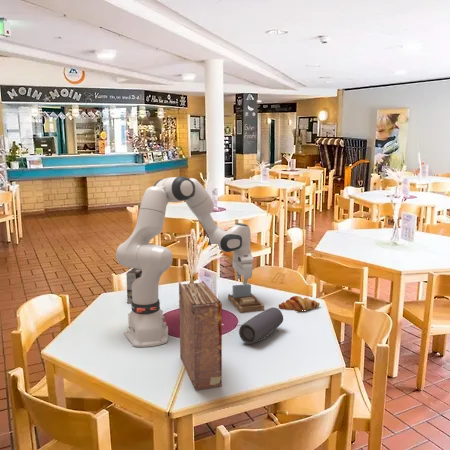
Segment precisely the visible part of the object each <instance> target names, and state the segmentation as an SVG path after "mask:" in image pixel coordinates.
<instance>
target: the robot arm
mask: <svg viewBox="0 0 450 450" xmlns="http://www.w3.org/2000/svg"><path fill="white" fill-rule="evenodd" d="M178 202H185V203H186V205H187V207H188V208H189V210H190V211H191V212H192V214H194V216H195V217H196V219H198V222H199V223H200V225H201V227H202V228H203V230H204V231H205V233H206V238H207V237H208V238H209V242H208V244H209V245H210V246H211V244H218V246H219V249H218V250H221V251H222V252H225V253H231V252H232V268H233V269H234V270H235V274H236V279H237V280H241V278H242V279H243V280H242V285H247V284H248V280H249V279H251V278H252V277H253V265H254V264H253V263H254V257H253V254H252V253H251V251H252V250H251V249H252V248H251V242H252V241H251V240H252V239H251V237H252V235H251V228H250V226H249V225H248V224H246V223H241V222H237V223H234V224H233V225H232V226H231V227H230V228H229V229H227V230H225V229H223V228H220V227H219V226H218V225H217V223H216V222H215V220H214V219H213V217H212V215H211V214H212V212H213V211H214V208H215V204H214V201H213V199H212V197H211V195H210V194H209V192H208V191H207V190H206V188H205V186H203V184H201V182H199V180H197V179H196V178H193V177H190V178H189V177H186V176H170V177H165V178H161V179H158V180H157V181H156V182H155V183H154V184H153V186H148V187H147V188H146V189H145V190H144V194H143V196H142V198H141V202H140V204H139V205H140V206H139V210H138V214H137V215H138V216H137V220H136V224H135V227H134V228H133V231H132V233H130V236H129V237H128V238H127V239H126V240H125V241H124V242H122V243H121V244H119V245H118V247H117V248H116V251H115V258H116V259H115V260H116V261H117V263H118V265H121V266H123V267H126V268H131V269H133V268H135V269H141V270H142V275H141V277H139V278H137V279H136V280H135V281H134V282H133V284H132V301H131V303H130V307H131V308H130V309H131V311H130V312H129V313H128V315H127V317H128V318H127V321H128V324H127V325H128V326H127V328H128V329H126V330H124V333H123V334H124V336H126V338H127V340H129V343H131V345H132V346H133V347H134V348H146V347H147V348H148V347H156V346H160V345H164V344H166V343H167V344H168V337H169V336H168V335H169V327H168V325H167V322H166V321H164V320H166V319H165V316H164V314H163V313H164V311H163V310H162V309H161V302H160V298H159V285H160V280H161V277H162V275H163V274H164V273H165V272H166V271H168V269H170V267H171V266H172V264H173V259H174V257H173V252H172V251H171V249H170V248H168V247H166V246H162V245H160V244H154V243H153V244H152V243H150V242H151V240H152V239H153V238H155V237H157V236H158V235H160V234H161V233H162V231H163V229H164V228H163V227H164V224H165V218H166V211H167V207H168V204H169V203H178Z"/></svg>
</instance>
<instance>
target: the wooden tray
mask: <svg viewBox="0 0 450 450" xmlns="http://www.w3.org/2000/svg"><path fill="white" fill-rule="evenodd" d="M247 297H252V298H253V299H255V303H247V304H239V302H240V298H247ZM227 299H228V301H229V302H230V303H231V304H232V306H234V308H236V310H237V311H238V312H239V313H240V314H244V313H252V312H253V313H254V312H255V313H256V312H263V311H265V305H264V303H262V302H261V300H259V298H257V297H256V296H255V295H254V294H253V293H252V292H251V296H246V297H236V298H233V294H230V293H229V294H227Z"/></svg>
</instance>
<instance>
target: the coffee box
mask: <svg viewBox="0 0 450 450" xmlns="http://www.w3.org/2000/svg"><path fill="white" fill-rule="evenodd" d="M125 275H126V297H127V299H126V300H127V304H131V301H132V284H133V282H134V281H135V280H136V279H137V278H139V277H141V275H142V270H141V269H135V268H131V269H130V270H129V271H127V272H126V273H125Z"/></svg>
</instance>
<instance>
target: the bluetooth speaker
mask: <svg viewBox="0 0 450 450" xmlns="http://www.w3.org/2000/svg"><path fill="white" fill-rule="evenodd" d="M283 322H284V315H283V312H282V311H281V310H280V308H277V307H275V306H274V307H270V308H268V309H264V311H260V312H258V314H256V315H253V317H251V318H250V319H248V320H246V321H245V322H244V323H243V324H241V326H240V327H239V330H238V334H239V338H240V339H241V341H243V342H244V343H245V344H249V345H251V344H254V343H257V342H260V341H262V340H263V338H264V337H265V338H266V337H268V336H269V335H270V334H271V333H273V331H275V330H276V329H277V328H278V327H279V326H281V325H282V324H283ZM267 335H268V336H267ZM265 338H264V339H265ZM261 339H262V340H261ZM259 340H260V341H259Z"/></svg>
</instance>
